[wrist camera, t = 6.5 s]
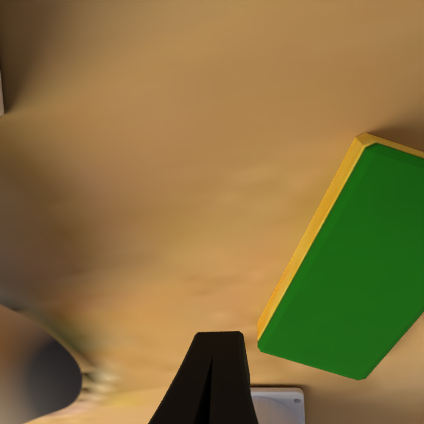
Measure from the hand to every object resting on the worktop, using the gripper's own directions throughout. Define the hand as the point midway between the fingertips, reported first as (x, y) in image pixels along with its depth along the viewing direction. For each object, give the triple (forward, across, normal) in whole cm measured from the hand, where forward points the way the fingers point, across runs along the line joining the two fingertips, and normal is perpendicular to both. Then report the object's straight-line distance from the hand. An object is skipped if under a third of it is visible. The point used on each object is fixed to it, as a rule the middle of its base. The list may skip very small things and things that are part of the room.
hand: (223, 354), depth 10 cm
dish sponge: (+10, -6, +4) cm, 13 cm away
